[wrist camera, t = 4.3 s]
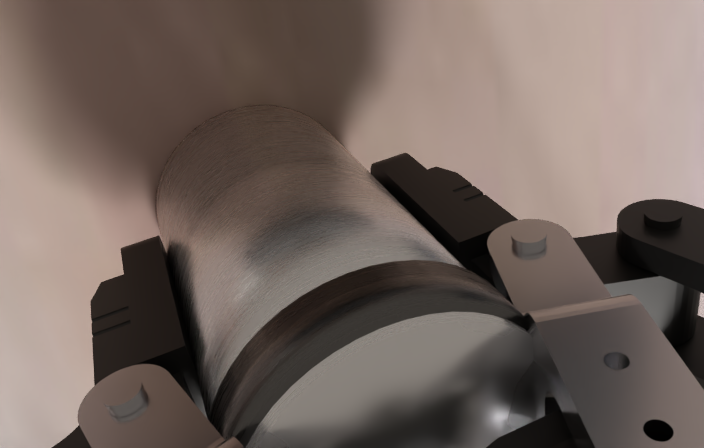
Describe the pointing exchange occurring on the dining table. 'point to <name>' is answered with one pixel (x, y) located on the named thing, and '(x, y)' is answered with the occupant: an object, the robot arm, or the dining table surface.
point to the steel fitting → (329, 299)
